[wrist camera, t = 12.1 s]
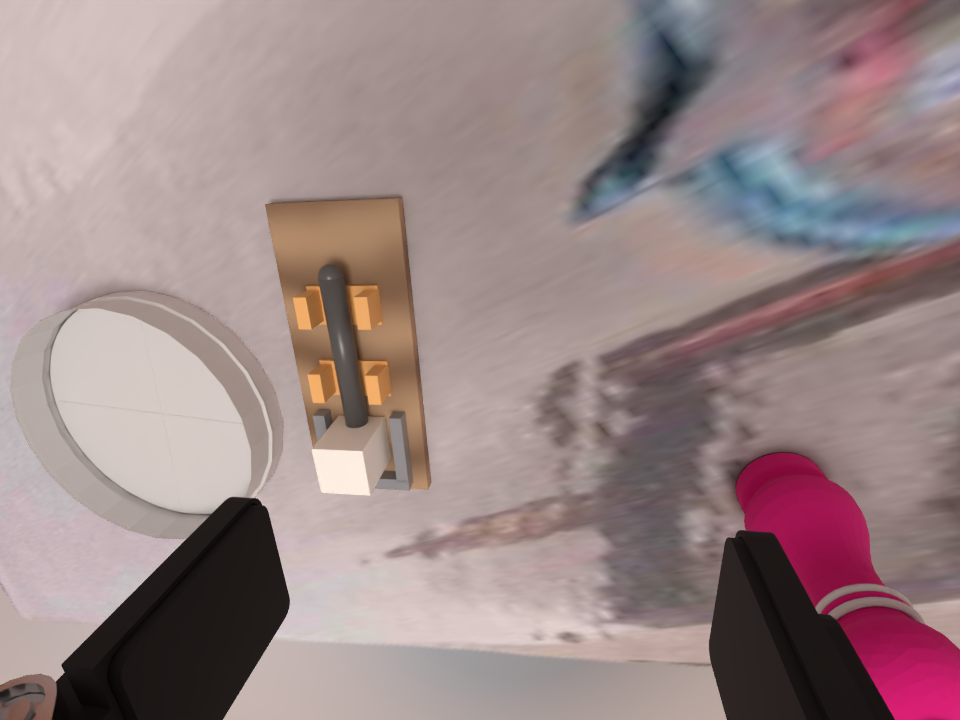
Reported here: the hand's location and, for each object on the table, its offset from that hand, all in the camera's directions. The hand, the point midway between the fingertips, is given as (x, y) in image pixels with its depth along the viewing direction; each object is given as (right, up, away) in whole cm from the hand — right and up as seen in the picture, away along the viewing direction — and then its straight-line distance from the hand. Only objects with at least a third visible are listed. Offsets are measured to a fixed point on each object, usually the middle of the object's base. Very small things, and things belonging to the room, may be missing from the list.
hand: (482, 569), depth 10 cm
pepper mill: (+23, -6, +29) cm, 38 cm away
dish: (-28, 0, +36) cm, 46 cm away
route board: (-10, +5, +31) cm, 33 cm away
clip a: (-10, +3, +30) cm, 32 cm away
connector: (-10, +4, +30) cm, 32 cm away
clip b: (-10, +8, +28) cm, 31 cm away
